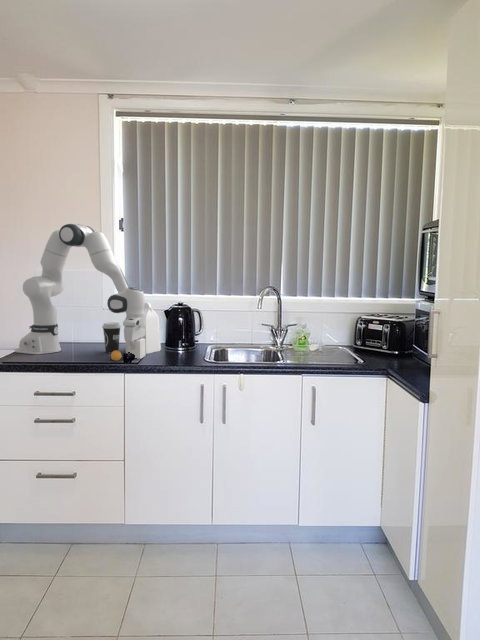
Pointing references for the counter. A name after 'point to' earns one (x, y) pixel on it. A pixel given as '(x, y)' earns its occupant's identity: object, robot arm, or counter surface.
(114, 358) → the ball
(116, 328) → the coffee cup
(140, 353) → the white block
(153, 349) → the milk
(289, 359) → the counter surface
